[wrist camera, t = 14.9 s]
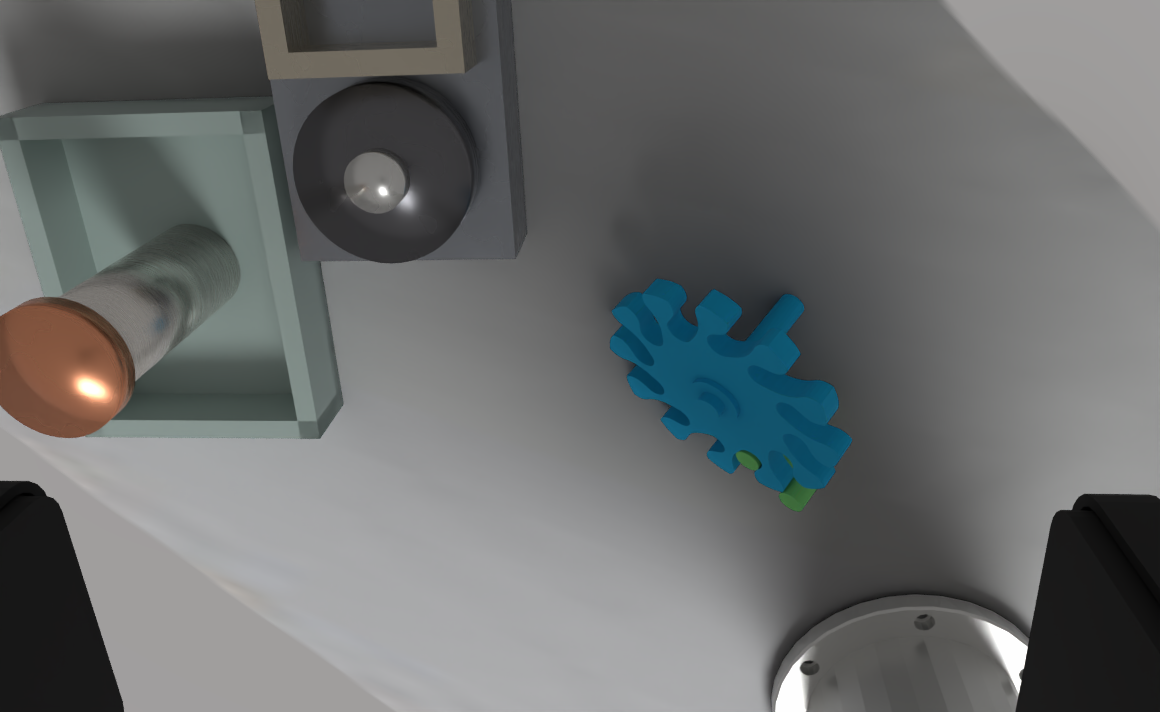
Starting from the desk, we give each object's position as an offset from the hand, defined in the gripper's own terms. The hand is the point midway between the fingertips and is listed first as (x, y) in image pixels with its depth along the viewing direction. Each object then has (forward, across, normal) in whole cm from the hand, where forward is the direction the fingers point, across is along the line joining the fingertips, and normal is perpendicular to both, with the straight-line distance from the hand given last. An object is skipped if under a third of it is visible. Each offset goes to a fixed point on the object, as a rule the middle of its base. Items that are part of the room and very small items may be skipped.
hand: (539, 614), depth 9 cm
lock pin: (+28, +18, +6) cm, 34 cm away
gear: (+29, -3, +10) cm, 31 cm away
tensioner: (+28, +8, -2) cm, 30 cm away
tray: (+28, +18, +6) cm, 34 cm away
